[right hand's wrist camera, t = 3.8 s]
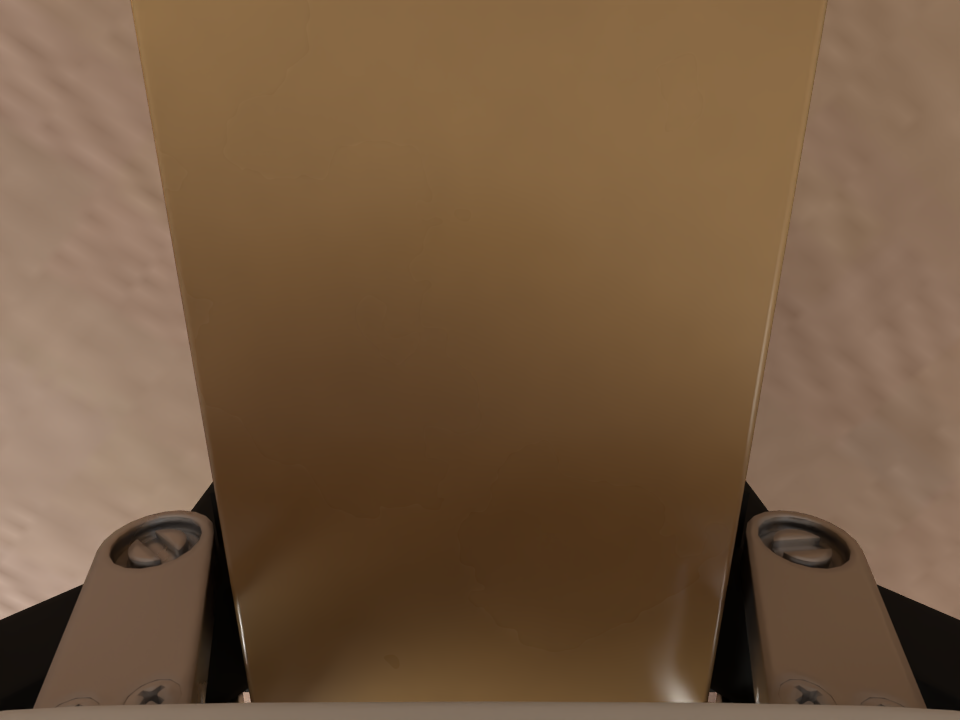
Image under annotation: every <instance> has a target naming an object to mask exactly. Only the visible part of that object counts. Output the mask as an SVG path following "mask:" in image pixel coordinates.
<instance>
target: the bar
mask: <svg viewBox="0 0 960 720" xmlns="http://www.w3.org/2000/svg"><path fill="white" fill-rule="evenodd" d="M130 1H131V7H132V13H133V18H134V24H135V30H136V36H137V42H138V48H139V53H140V59H141V65H142V71H143V77H144V82H145V88H146V94H147V100H148V106H149V111H150V117H151V123H152V129H153V135H154V141H155V146H156V152H157V158H158V164H159V170H160V175H161V181H162V187H163V193H164V199H165V205H166V210H167V216H168V222H169V228H170V234H171V239H172V245H173V251H174V257H175V263H176V269H177V274H178V280H179V286H180V292H181V298H182V303H183V309H184V315H185V321H186V327H187V332H188V338H189V344H190V350H191V356H192V362H193V367H194V373H195V379H196V385H197V391H198V396H199V402H200V408H201V414H202V420H203V426H204V431H205V437H206V443H207V449H208V455H209V460H210V466H211V472H212V478H213V484H214V489H215V495H216V501H217V507H218V513H219V519H220V524H221V530H222V536H223V542H224V548H225V553H226V559H227V565H228V571H229V577H230V583H231V588H232V594H233V600H234V606H235V612H236V617H237V623H238V629H239V635H240V641H241V647H242V652H243V658H244V664H245V670H246V676H247V681H248V687H249V693H250V699H251V703H283V702H677V703H707V702H708V696H709V690H710V684H711V679H712V673H713V667H714V661H715V655H716V649H717V644H718V638H719V632H720V626H721V620H722V614H723V609H724V603H725V597H726V591H727V585H728V579H729V574H730V568H731V562H732V556H733V550H734V544H735V538H736V533H737V527H738V521H739V515H740V509H741V503H742V498H743V492H744V486H745V480H746V474H747V468H748V463H749V457H750V451H751V445H752V439H753V433H754V428H755V422H756V416H757V410H758V404H759V398H760V393H761V387H762V381H763V375H764V369H765V363H766V357H767V352H768V346H769V340H770V334H771V328H772V322H773V317H774V311H775V305H776V299H777V293H778V287H779V282H780V276H781V270H782V264H783V258H784V252H785V247H786V241H787V235H788V229H789V223H790V217H791V212H792V206H793V200H794V194H795V188H796V182H797V176H798V171H799V165H800V159H801V153H802V147H803V141H804V136H805V130H806V124H807V118H808V112H809V106H810V101H811V95H812V89H813V83H814V77H815V71H816V66H817V60H818V54H819V48H820V42H821V36H822V31H823V25H824V19H825V13H826V7H827V1H828V0H130Z"/></svg>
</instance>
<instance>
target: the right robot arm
mask: <svg viewBox="0 0 960 720" xmlns="http://www.w3.org/2000/svg"><path fill="white" fill-rule="evenodd" d="M244 691H245V692H249V687H248V681H247V676H246V670H245V664H244V658H243V652H242V647H241V641H240V635H239V629H238V623H237V617H236V612H235V606H234V600H233V594H232V588H231V583H230V577H229V571H228V565H227V559H226V553H225V548H224V542H223V536H222V530H221V524H220V519H219V513H218V507H217V501H216V495H215V489H214V484H213V482H212V484H211V485H210V486H209V488H208V489H207V490H206V492H205V493H204V494H203V496H202V497H201V499H200V500H199V501H198V503H197V504H196V505H195V507H194V508H193V509H192V511H168V512H162V513H157V514H153V515H149V516H146V517H143V518H141V519H138V520H135V521H133V522H130V523H129V524H127V525H125V526H123V527H122V528H120V529H118V530H116V531H115V532H114V533H113V534H111V535H110V536H109V537H108V538H107V539H105V540H104V542H103V543H102V545H101V546H100V548H99V549H98V551H97V553H96V555H95V557H94V560H93V562H92V565H91V567H90V570H89V572H88V575H87V577H86V580H85V582H84V584H83V585H80V586H78V587H76V588H74V589H71V590H69V591H67V592H64V593H62V594H60V595H57V596H55V597H53V598H50V599H48V600H46V601H43V602H41V603H39V604H36V605H34V606H32V607H29V608H27V609H25V610H22V611H20V612H18V613H16V614H13V615H11V616H9V617H6V618H4V619H2V620H0V720H960V620H958V619H956V618H953V617H951V616H949V615H946V614H944V613H942V612H940V611H937V610H935V609H933V608H930V607H928V606H926V605H923V604H921V603H919V602H916V601H914V600H912V599H909V598H907V597H905V596H902V595H900V594H898V593H895V592H893V591H891V590H888V589H886V588H884V587H881V586H879V585H877V584H876V582H875V580H874V577H873V575H872V572H871V570H870V567H869V565H868V562H867V560H866V557H865V555H864V553H863V551H862V549H861V548H860V546H859V545H858V543H857V542H856V540H855V539H853V538H852V537H851V536H850V535H849V534H847V533H846V532H845V531H844V530H842V529H840V528H838V527H837V526H835V525H833V524H831V523H830V522H827V521H825V520H822V519H819V518H817V517H814V516H811V515H807V514H803V513H798V512H792V511H768V510H767V508H766V507H765V506H764V504H763V503H762V502H761V500H760V499H759V498H758V496H757V495H756V494H755V492H754V491H753V490H752V488H751V487H750V486H749V484H748V483H747V482H746V480H745V486H744V492H743V498H742V503H741V509H740V515H739V521H738V527H737V533H736V538H735V544H734V550H733V556H732V562H731V568H730V574H729V579H728V585H727V591H726V597H725V603H724V609H723V614H722V620H721V626H720V632H719V638H718V644H717V649H716V655H715V661H714V667H713V673H712V679H711V684H710V690H709V692H717V698H716V703H677V702H283V703H244V698H243V692H244Z"/></svg>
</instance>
